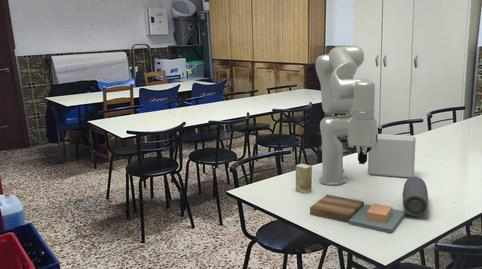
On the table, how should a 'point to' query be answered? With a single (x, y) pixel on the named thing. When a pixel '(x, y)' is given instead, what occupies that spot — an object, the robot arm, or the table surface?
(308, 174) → the skincare box
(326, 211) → the wooden board
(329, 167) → the robot arm
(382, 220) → the tile
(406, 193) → the bluetooth speaker
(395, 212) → the mat
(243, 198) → the table surface
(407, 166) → the bevelled white case
